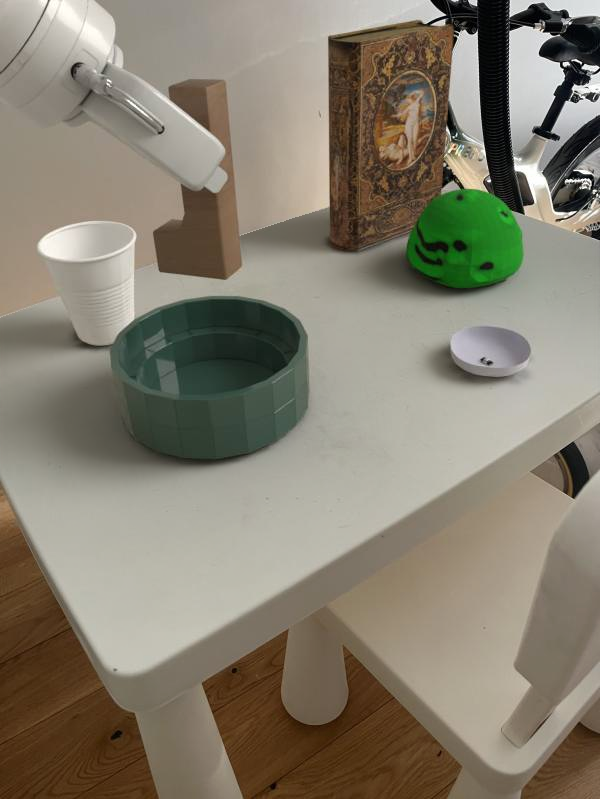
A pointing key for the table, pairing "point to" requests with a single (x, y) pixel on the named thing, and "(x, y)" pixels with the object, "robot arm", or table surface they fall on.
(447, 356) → the table surface
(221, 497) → the table surface
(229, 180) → the wooden block
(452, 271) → the toy
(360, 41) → the book
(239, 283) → the table surface
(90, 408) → the table surface
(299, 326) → the bowl
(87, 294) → the cup
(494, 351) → the white shallow round dish
